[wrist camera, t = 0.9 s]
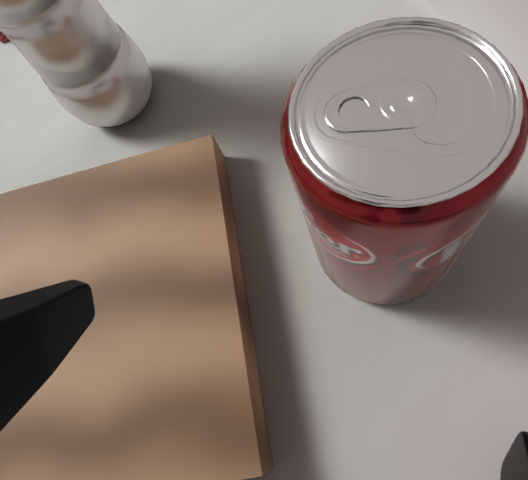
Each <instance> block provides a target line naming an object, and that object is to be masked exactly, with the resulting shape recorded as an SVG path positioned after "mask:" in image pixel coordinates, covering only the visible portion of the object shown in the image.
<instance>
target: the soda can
mask: <svg viewBox="0 0 528 480" xmlns="http://www.w3.org/2000/svg"><path fill="white" fill-rule="evenodd" d="M280 133H281V145H282V149H283V153H284V156H285V160H286V163H287V166H288V169H289V172H290V175H291V178H292V181H293V184H294V187H295V190H296V193H297V196H298V199H299V202H300V205H301V208H302V211H303V214H304V217H305V220H306V223H307V226H308V229H309V232H310V235H311V238H312V241H313V244H314V247H315V250H316V253H317V256H318V259H319V262H320V264H321V266H322V268H323V269H324V271H325V273H326V274H327V275H328V277H329V278H330V279H331V280H332V282H333V283H334V284H336V285H337V286H338V287H339V288H340V289H342V290H343V291H344V292H346V293H348V294H349V295H351V296H353V297H355V298H357V299H360V300H363V301H366V302H369V303H376V304H384V305H386V304H400V303H404V302H407V301H411V300H414V299H416V298H418V297H420V296H423V295H425V294H427V293H428V292H429V291H431V290H432V289H433V288H435V287H436V286H437V285H438V284H439V283H440V282H441V281H442V280H443V278H444V277H445V276H446V275H447V273H448V272H449V270H450V269H451V267H452V266H453V264H454V263H455V261H456V260H457V258H458V257H459V255H460V254H461V252H462V251H463V249H464V248H465V246H466V245H467V243H468V241H469V240H470V238H471V237H472V235H473V234H474V232H475V231H476V229H477V228H478V226H479V225H480V223H481V222H482V220H483V219H484V217H485V216H486V214H487V213H488V211H489V210H490V208H491V206H492V205H493V203H494V202H495V200H496V199H497V197H498V196H499V194H500V193H501V191H502V190H503V188H504V187H505V185H506V184H507V182H508V181H509V179H510V178H511V176H512V175H513V173H514V171H515V169H516V168H517V166H518V164H519V162H520V160H521V158H522V156H523V154H524V152H525V149H526V145H527V141H528V99H527V95H526V91H525V88H524V85H523V83H522V81H521V79H520V77H519V76H518V74H517V72H516V70H515V69H514V67H513V66H512V64H511V63H510V62H509V61H508V60H507V59H506V58H505V56H504V55H503V54H502V53H501V52H500V51H499V50H498V49H497V48H496V47H495V46H494V45H493V44H492V43H490V42H489V41H487V40H486V39H485V38H483V37H482V36H480V35H479V34H477V33H476V32H473V31H471V30H469V29H467V28H465V27H462V26H460V25H458V24H454V23H451V22H447V21H443V20H440V19H433V18H423V17H400V18H392V19H386V20H381V21H375V22H372V23H370V24H367V25H364V26H361V27H358V28H355V29H353V30H351V31H349V32H347V33H346V34H344V35H342V36H340V37H338V38H336V39H335V40H334V41H332V42H331V43H330V44H328V45H327V46H326V47H324V48H323V49H322V50H320V52H319V53H318V54H317V55H316V56H315V57H314V58H313V59H312V60H311V61H310V62H309V63H308V64H307V65H306V66H305V67H304V68H303V69H302V71H301V72H300V74H299V75H298V77H297V78H296V80H295V81H294V83H293V84H292V86H291V89H290V91H289V93H288V96H287V98H286V101H285V103H284V107H283V112H282V117H281V123H280Z"/></svg>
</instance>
